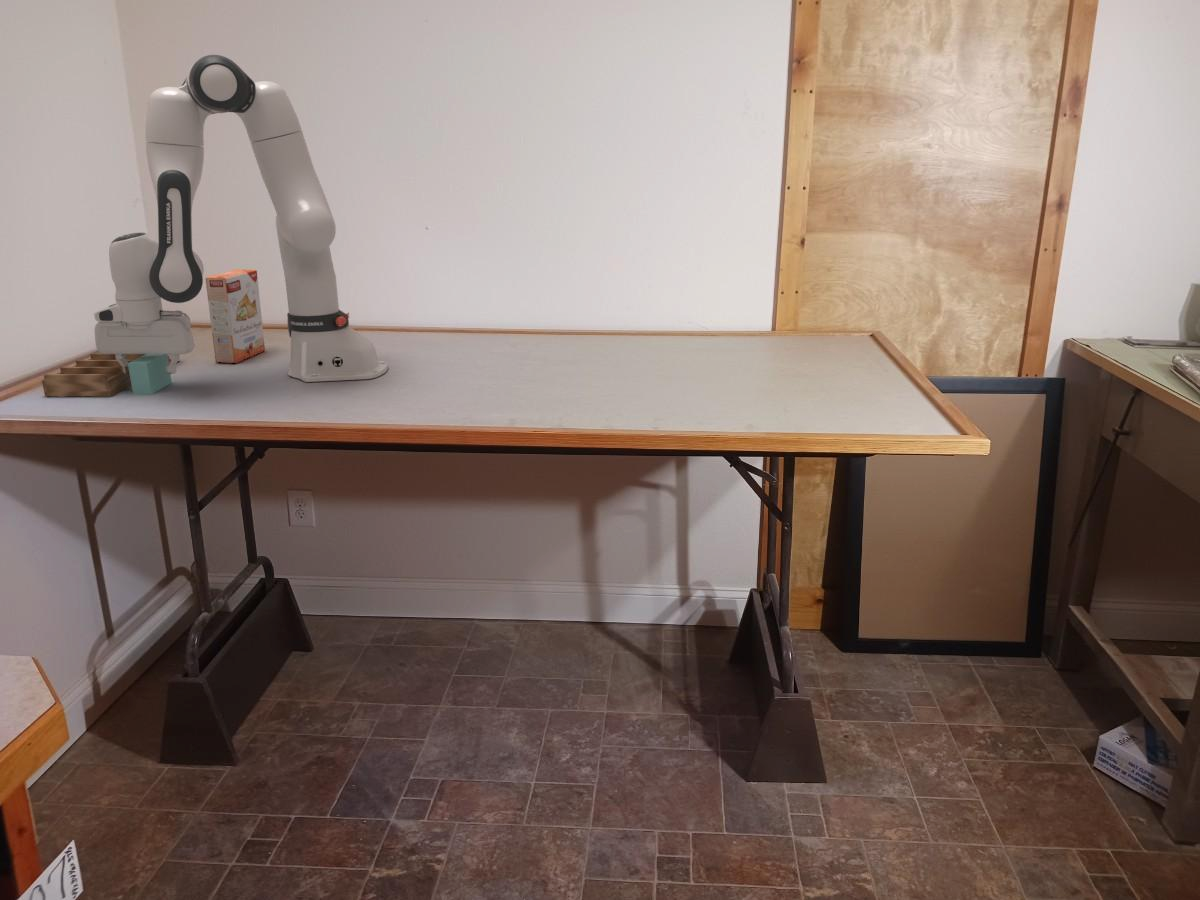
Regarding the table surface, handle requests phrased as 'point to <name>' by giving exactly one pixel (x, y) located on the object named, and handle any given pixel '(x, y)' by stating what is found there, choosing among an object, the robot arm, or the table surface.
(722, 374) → the table surface
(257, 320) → the cracker box
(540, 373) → the table surface
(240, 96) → the robot arm
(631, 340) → the table surface
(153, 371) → the teal block
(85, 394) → the rack
